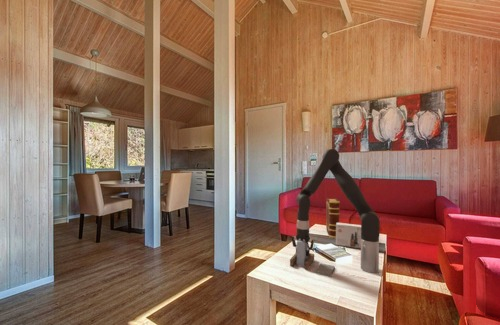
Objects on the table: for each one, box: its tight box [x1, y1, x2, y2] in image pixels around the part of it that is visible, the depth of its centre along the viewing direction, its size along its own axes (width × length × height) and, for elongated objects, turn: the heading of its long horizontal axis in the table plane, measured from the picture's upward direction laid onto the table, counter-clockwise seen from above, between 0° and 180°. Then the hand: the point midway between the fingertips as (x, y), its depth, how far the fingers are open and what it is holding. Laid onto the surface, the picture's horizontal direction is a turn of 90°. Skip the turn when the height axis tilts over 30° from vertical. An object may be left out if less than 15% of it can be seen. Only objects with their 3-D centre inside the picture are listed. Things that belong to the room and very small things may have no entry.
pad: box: [315, 262, 335, 277], centre depth 131 cm, size 8×12×1 cm, turn 151°
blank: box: [296, 240, 308, 268], centre depth 141 cm, size 4×9×14 cm, turn 151°
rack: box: [289, 252, 315, 271], centre depth 140 cm, size 10×16×4 cm
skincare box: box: [335, 222, 361, 249], centre depth 171 cm, size 21×6×16 cm, turn 68°
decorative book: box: [325, 197, 341, 239], centre depth 200 cm, size 22×8×30 cm, turn 168°
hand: (302, 254), depth 141 cm, fingers open, 5 cm apart
